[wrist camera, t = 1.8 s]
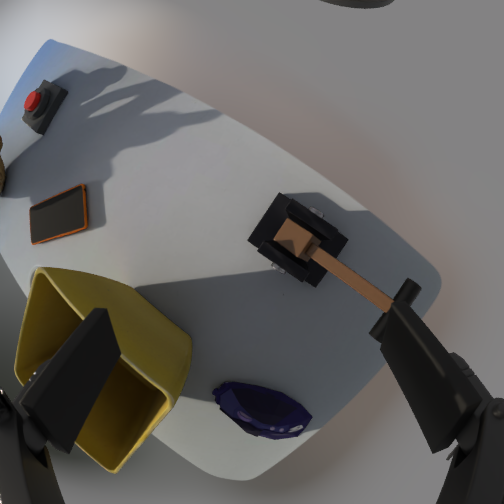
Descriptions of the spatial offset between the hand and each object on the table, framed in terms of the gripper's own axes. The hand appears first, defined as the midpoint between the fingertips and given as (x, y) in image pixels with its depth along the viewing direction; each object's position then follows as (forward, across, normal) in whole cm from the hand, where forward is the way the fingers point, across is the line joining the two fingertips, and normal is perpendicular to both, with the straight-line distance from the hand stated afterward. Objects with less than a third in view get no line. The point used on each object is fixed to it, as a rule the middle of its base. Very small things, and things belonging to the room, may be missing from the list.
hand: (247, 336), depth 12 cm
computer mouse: (+17, 0, -27) cm, 31 cm away
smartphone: (+30, -34, +1) cm, 46 cm away
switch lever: (+10, +8, -2) cm, 13 cm away
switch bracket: (+23, +6, -3) cm, 24 cm away
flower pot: (+22, -17, -18) cm, 33 cm away
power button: (+35, -43, +25) cm, 61 cm away
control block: (+39, -43, +24) cm, 62 cm away
